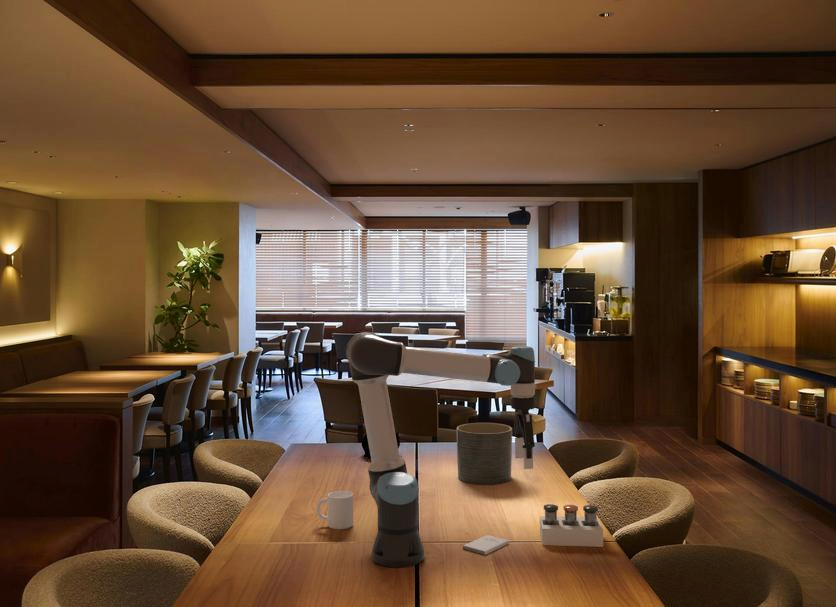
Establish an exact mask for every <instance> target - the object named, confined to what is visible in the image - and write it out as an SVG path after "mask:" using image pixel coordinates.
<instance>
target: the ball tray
mask: <svg viewBox="0 0 836 607" xmlns="http://www.w3.org/2000/svg"><path fill="white" fill-rule="evenodd" d="M539 536H540V540H541V544H542V546H559V547H560V546H561V547H563V546H565V547H595V548H596V547H599V548H602V547H604V528H603V526H602V524H601V522H600V520H599V518H598V517H597V526H585V516H583V517H582V516H577V526H565V516H557V525H545V515H543V516H542V515H540V516H539Z"/></svg>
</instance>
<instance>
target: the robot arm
mask: <svg viewBox="0 0 836 607" xmlns="http://www.w3.org/2000/svg"><path fill="white" fill-rule="evenodd" d="M345 356H346V359H347V362H348V365H349V370H350V376H351V380H352V382H353V383H355V384H357V386H358V392H359V399H360V401H361V402H360V403H361V409H362V415H363V420H364V428H365V430H366V431H365V432H366V433H367V438H368V444H369V449H370V455H371V459H370V461H371V462H370V463H369V465H368V466H367V472H368V477H369V478H368V479H369V491H370V494H371V496H372V498H373V500H374V502H375V504H376V507H377V533H376V537H375V540H374V542H373V546H372V548H371V561H372V562H374V564H375V563H376V564H377V565H378V566H383V567H388V568H406V567H412V566H416V565H418V564H420V563H422V562H423V561H424V560H425V549H424V545H423V541H422V539H421V536H420V533H419V492H420V491H419V485H418V480H417V478H416V477H415V476H414V475H412V474H409V473H408V471H407V470H408V469H407V464H406V460H405V458H403V457H401V456H400V452H399V448H398V446H397V440H396V435H397V433H396V430H395V424H394V418H393V413H392V412H393V411H392V406H391V402H390V401H391V399H390V396H389V389H388V383H387V379H388V377H389V376H395V377H398V376H400V375H401V374H407V375H408V374H410V375H417V376H418V375H420V376H426V377H428V376H429V377H436V378H445V379H446V378H447V379H454V380H455V379H456V380H464V381H474V382H481V383H482V382H483V383H490V384H498V385H501V386H504V387H505V386H506V387H510V395H511V397H510V407H511V409H512V410H514V423H513V424H514V425H513V430H512V434H513V435H514V458H515V459H523V469H524V470H532V469H533V470H534V447H535V446H536V445H535V444H536V443H535V437H534V429H533V416H532V414H530V412H529V411H530V410H534V409H536V397H535V395H536V389H537V384H535V383H536V382H535V381H536V380H535V378H536V377H535V376H536V375H535V374H536V372H535V371H536V370H535V368H536V367H535V365H536V358H535V357H536V356H535V350H534V348H533V347H532V346H526V345H525V346H524V345H523V346H522V345H519V346H518V345H516V346H511V347H510V350H509V352H508V353H493V354H491V353H489V354H487V353H486V354H485V353H483V354H468V353H460V352H454V351H453V352H452V351H442V350H436V349H427V348H418V347H411V346H410V347H409V346H405V345H404V344H403V342H399V341H398V342H397V341H393V340H388V339H386V338H382V337H381V336H380V335H378V334H377V333H375V332H371V331H362V332H359V333H357V334H355V335H353V336H352V337H351V338H350V339H349V341H348V342H347V345H346V348H345ZM395 433H396V434H395Z"/></svg>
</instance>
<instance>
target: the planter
mask: <svg viewBox="0 0 836 607" xmlns="http://www.w3.org/2000/svg"><path fill="white" fill-rule="evenodd" d="M456 454H457V455H456V458H457V461H456V462H457V478H458V479H459V481H461V482H464V483H468V484H473V485H474V484H475V485H479V486H480V485H483V486H486V485H488V486H489V485H490V486H491V485H500V484H504V483H507V482H509V481H510V480H511V479H512V460H513V456H512V455H513V427H511V426H510V425H507V424H503V423H495V422H474V423H473V422H472V423H465V424H461V425H458V426H457V427H456Z"/></svg>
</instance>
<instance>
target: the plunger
mask: <svg viewBox="0 0 836 607" xmlns="http://www.w3.org/2000/svg"><path fill="white" fill-rule="evenodd" d="M582 508H583V509H582V510H583V511H584V517H585V526H597V518H598V517H597V512H598V511H599V507H598V506H596V505H592V504H589V505H588V504H587V505H584V506H583V507H582Z"/></svg>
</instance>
